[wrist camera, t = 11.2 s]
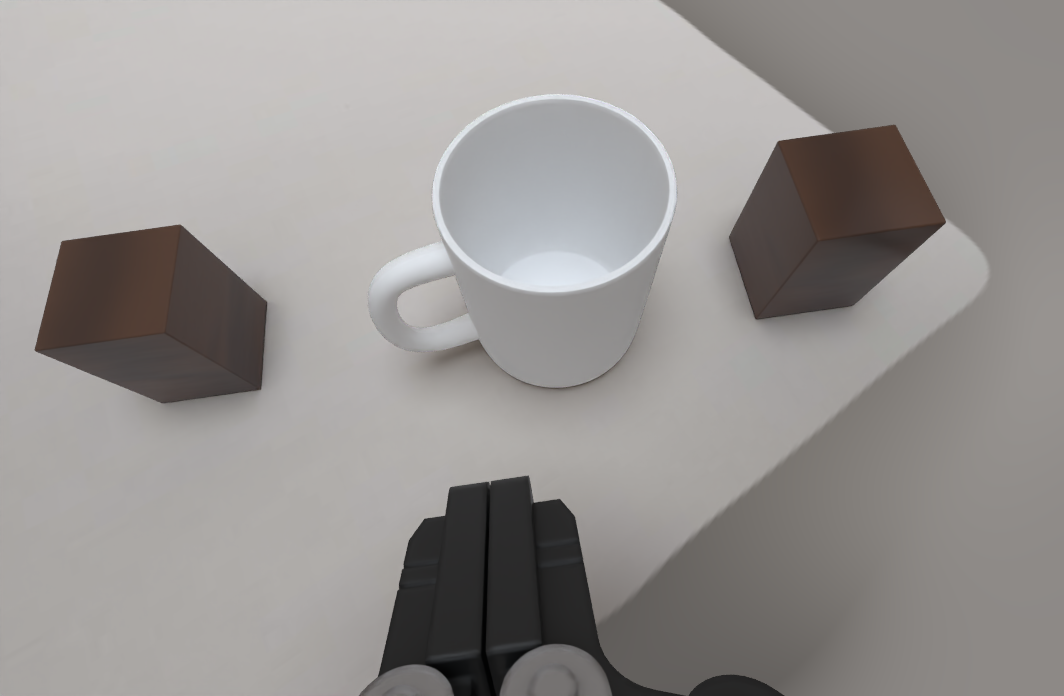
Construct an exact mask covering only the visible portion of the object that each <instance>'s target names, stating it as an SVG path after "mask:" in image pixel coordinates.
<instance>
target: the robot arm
mask: <svg viewBox="0 0 1064 696" xmlns="http://www.w3.org/2000/svg"><path fill="white" fill-rule="evenodd" d="M359 696H683V695H678V694H673V693H668V692H663V691H658V690H653V689H650V688H646V687H643V686H640V685H638V684H636V683H633V682H632V681H630V680H629V679H627V678H625V677H624V676H623V675H621V674H620V673H619V672H618V671H617V670H616V669H615V668H614V667H613V666H612V665H611V664H610V663H609V661H608V660H607V658H606V657H605V656H604V653H603V651H602V649H601V647H600V643H599V639H598V635H597V630H596V624H595V619H594V614H593V609H592V603H591V598H590V593H589V588H588V583H587V577H586V572H585V567H584V563H583V557H582V551H581V546H580V542H579V536H578V530H577V525H576V520H575V516H574V515H573V514H572V513H571V511H570V510H569V509H568V508H567V507H566V506H565V504H564V503H563V502H562V501H561V500H560V499H557V500H550V501H543V502H537V503H534V502H533V496H532V490H531V484H530V478H529V476H523V477H516V478H509V479H502V480H496V481H491V486H490V483H489V482H483V483H476V484H469V485H462V486H455V487H450V489H449V494H448V501H447V508H446V515H445V516H441V517H434V518H427V519H424V520H423V522H422V523H421V524H420V526H419V527H418V529H417V530H416V531H415V533H414V534H413V536H412V537H411V538H410V540H409V542H408V547H407V551H406V556H405V560H404V569H402V573H401V578H400V582H399V590H398V591H397V596H396V600H395V605H394V609H393V614H392V618H391V623H390V627H389V632H388V636H387V640H386V645H385V649H384V654H383V658H382V663H381V667H380V671H379V675H378V678H376V679H375V680H374V681H373V682H372V683H370V684H369V685H368V686H367V687H366V688H365V689H364V690H363V691H362V692H361V694H360V695H359ZM689 696H784V695H782V694H781V693H779V692H778V691H777V690H775V689H773V688H772V687H770V686H768V685H767V684H765V683H762V682H760V681H758V680H756V679H752V678H749V677H745V676H739V675H721V676H716V677H712V678H710V679H707V680H705V681H704V682H702V683H700V684H699V685H698V686H696V688H694V689H693V691H691V693H690V694H689Z"/></svg>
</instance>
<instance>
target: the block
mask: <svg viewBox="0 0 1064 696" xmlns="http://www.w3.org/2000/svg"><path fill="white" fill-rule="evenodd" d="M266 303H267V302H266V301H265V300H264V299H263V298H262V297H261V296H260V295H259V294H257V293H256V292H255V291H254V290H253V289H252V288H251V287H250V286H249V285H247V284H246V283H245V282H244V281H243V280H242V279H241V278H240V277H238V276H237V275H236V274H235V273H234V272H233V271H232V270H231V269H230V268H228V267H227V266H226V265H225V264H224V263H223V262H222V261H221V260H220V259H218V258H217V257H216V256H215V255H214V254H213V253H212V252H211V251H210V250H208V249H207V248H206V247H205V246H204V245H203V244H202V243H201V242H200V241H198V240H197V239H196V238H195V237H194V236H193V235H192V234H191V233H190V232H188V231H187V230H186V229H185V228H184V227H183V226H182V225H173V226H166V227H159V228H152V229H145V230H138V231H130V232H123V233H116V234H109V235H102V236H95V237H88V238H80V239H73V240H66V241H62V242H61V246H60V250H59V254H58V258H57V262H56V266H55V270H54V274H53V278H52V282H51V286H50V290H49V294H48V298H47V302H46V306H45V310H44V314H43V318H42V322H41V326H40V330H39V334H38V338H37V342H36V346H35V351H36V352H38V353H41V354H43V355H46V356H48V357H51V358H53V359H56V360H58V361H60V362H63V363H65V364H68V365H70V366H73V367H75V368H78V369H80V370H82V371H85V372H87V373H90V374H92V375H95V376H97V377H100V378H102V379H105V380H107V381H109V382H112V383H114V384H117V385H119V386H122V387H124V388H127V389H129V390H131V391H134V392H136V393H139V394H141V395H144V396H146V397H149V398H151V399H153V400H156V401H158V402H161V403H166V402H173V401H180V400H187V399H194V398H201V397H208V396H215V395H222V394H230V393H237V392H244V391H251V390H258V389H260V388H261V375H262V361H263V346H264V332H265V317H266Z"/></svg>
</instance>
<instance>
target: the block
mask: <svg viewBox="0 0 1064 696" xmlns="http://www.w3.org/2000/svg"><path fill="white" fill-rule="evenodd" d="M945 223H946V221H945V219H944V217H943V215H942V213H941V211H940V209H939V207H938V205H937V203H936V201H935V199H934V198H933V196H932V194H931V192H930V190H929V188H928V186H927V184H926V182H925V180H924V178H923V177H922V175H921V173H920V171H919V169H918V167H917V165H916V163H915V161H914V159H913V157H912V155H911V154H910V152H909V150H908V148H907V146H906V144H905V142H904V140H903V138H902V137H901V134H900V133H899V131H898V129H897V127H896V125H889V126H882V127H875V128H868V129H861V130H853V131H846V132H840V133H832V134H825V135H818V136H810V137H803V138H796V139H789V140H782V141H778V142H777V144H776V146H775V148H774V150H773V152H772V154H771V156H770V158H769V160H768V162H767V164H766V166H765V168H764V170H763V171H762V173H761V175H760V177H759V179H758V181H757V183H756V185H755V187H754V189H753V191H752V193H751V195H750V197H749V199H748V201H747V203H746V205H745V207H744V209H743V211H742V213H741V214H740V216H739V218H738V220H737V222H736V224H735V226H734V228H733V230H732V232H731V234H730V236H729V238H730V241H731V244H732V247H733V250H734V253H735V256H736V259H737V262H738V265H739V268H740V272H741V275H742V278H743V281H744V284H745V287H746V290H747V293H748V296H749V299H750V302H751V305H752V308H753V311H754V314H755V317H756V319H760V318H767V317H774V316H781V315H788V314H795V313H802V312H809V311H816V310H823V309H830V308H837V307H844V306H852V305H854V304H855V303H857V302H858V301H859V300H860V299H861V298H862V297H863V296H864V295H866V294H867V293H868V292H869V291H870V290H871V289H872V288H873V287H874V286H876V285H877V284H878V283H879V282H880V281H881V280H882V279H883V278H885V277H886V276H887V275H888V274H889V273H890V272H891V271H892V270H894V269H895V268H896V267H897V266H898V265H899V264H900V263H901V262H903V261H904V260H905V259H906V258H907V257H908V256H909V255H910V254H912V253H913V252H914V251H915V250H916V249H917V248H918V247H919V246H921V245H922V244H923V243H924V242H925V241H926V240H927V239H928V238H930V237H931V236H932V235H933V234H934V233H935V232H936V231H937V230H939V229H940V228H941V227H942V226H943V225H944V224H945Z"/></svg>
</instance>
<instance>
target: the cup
mask: <svg viewBox="0 0 1064 696" xmlns="http://www.w3.org/2000/svg"><path fill="white" fill-rule="evenodd" d="M676 203H677V182H676V176H675V172H674V168H673V165H672V162H671V160H670V158H669V156H668V153H667V152H666V150H665V148H664V147H663V145H662V144H661V142H660V141H659V139H658V138H657V137H656V136H655V135H654V133H653V132H652V131H651V130H650V129H649V128H648V127H647V126H645V125H644V124H643V123H642V122H641V121H639V120H638V119H637V118H635V117H634V116H632V115H631V114H629V113H628V112H626V111H624V110H622V109H620V108H618V107H616V106H614V105H611V104H609V103H606V102H603V101H600V100H597V99H593V98H588V97H584V96H577V95H566V94H549V95H538V96H531V97H526V98H522V99H518V100H515V101H511V102H508V103H506V104H503V105H501V106H498V107H496V108H494V109H492V110H490V111H488V112H486V113H485V114H483V115H481V116H480V117H478V118H477V119H475V120H474V121H472V122H471V123H470V124H469V125H468V126H466V127H465V128H464V129H463V130H462V131H461V132H460V133H459V134H458V135H457V136H456V137H455V139H454V140H453V141H452V142H451V143H450V145H449V146H448V148H447V149H446V151H445V152H444V154H443V156H442V158H441V160H440V162H439V165H438V167H437V170H436V173H435V176H434V180H433V186H432V209H433V214H434V219H435V222H436V225H437V228H438V230H439V233H440V236H441V239H442V241H440V242H437V243H434V244H431V245H428V246H425V247H422V248H419V249H416V250H413V251H411V252H408V253H406V254H403V255H401V256H399V257H397V258H395V259H393V260H392V261H390V262H389V263H387V264H386V265H384V266H383V267H382V268H381V269H380V270H379V271H378V272H377V274H376V275H375V276H374V278H373V280H372V282H371V284H370V287H369V291H368V308H369V313H370V316H371V318H372V321H373V323H374V324H375V326H376V328H377V329H378V331H379V332H380V334H381V335H382V336H383V337H384V338H385V339H386V340H388V341H389V342H390V343H392V344H393V345H395V346H397V347H399V348H401V349H404V350H408V351H414V352H433V351H440V350H445V349H449V348H453V347H457V346H460V345H463V344H466V343H469V342H472V341H475V340H478V339H479V340H480V342H481V344H482V346H483V347H484V349H485V351H486V352H487V353H488V355H489V356H490V357H491V359H492V360H493V361H494V362H495V363H496V364H497V365H498V366H499V367H500V368H501V369H502V370H504V371H505V372H507V373H508V374H509V375H511V376H513V377H515V378H516V379H519V380H521V381H523V382H526V383H529V384H532V385H536V386H541V387H550V388H561V387H570V386H575V385H579V384H583V383H586V382H588V381H591V380H593V379H595V378H597V377H599V376H600V375H602V374H604V373H605V372H607V371H608V370H609V369H611V368H612V367H613V366H614V365H615V364H616V363H617V362H618V361H619V360H620V359H621V357H622V356H623V355H624V354H625V352H626V351H627V349H628V348H629V346H630V344H631V342H632V340H633V338H634V336H635V334H636V331H637V328H638V325H639V322H640V319H641V316H642V313H643V310H644V307H645V303H646V300H647V297H648V294H649V291H650V288H651V285H652V282H653V279H654V275H655V272H656V269H657V266H658V263H659V260H660V257H661V254H662V251H663V247H664V244H665V241H666V238H667V235H668V232H669V229H670V226H671V223H672V219H673V216H674V213H675V208H676ZM453 275H455V277H456V280H457V282H458V285H459V288H460V290H461V293H462V296H463V299H464V301H465V304H466V307H467V310H468V313H467V314H465V315H462V316H460V317H458V318H455V319H453V320H451V321H448V322H445V323H442V324H439V325H435V326H431V327H424V328H418V327H413V326H410V325H408V324H406V323H405V322H404V321H403V320H402V318H401V317H400V315H399V312H398V309H397V300H398V297H399V296H400V295H401V294H402V293H403V292H405V291H406V290H408V289H411V288H413V287H416V286H418V285H421V284H425V283H428V282H431V281H435V280H438V279H442V278H446V277H449V276H453Z"/></svg>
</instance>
